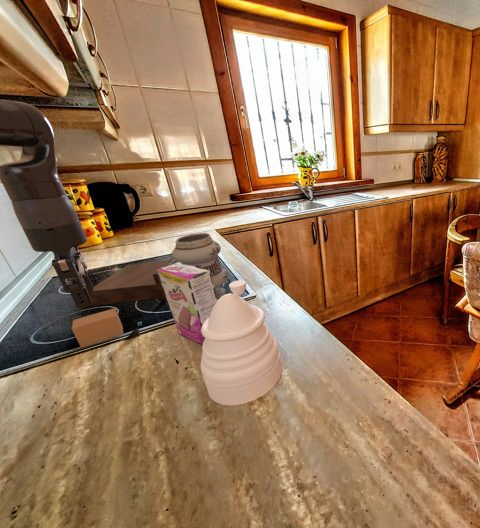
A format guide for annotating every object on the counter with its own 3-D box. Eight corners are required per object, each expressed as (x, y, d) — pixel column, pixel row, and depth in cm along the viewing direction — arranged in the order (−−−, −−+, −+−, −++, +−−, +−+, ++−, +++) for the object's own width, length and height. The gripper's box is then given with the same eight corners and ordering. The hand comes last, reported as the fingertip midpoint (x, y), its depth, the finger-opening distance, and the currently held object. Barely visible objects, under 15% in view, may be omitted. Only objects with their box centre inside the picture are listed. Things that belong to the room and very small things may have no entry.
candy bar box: (177, 335, 63) (155, 269, 57) (197, 324, 67) (179, 261, 61) (207, 349, 58) (187, 278, 52) (228, 336, 62) (211, 269, 56)
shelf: (94, 311, 75) (81, 281, 71) (134, 280, 93) (125, 255, 90) (167, 303, 77) (157, 273, 74) (192, 274, 96) (185, 250, 92)
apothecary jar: (179, 298, 80) (161, 238, 73) (221, 283, 88) (207, 228, 81) (195, 312, 72) (176, 246, 65) (239, 294, 80) (226, 235, 73)
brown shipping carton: (81, 356, 57) (68, 330, 55) (82, 345, 61) (70, 320, 58) (139, 335, 63) (130, 311, 61) (138, 327, 67) (128, 303, 64)
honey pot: (261, 343, 59) (246, 265, 52) (295, 374, 50) (282, 286, 43) (197, 376, 51) (169, 289, 44) (223, 420, 42) (194, 319, 35)
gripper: (29, 220, 54) (65, 293, 60) (12, 233, 44) (57, 319, 50) (80, 214, 59) (109, 282, 65) (75, 224, 48) (110, 304, 54)
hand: (86, 298), depth 57 cm, fingers open, 8 cm apart
